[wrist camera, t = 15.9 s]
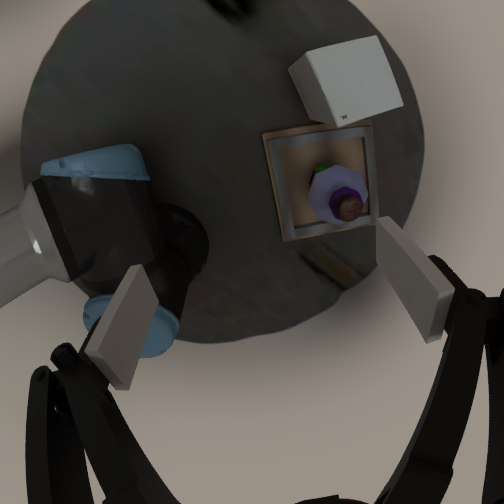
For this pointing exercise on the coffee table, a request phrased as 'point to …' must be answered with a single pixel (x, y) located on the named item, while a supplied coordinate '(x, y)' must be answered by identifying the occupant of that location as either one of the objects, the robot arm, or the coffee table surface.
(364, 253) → the coffee table surface
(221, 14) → the coffee table surface
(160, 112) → the coffee table surface
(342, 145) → the jig plate
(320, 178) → the potion bottle
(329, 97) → the supplement box
